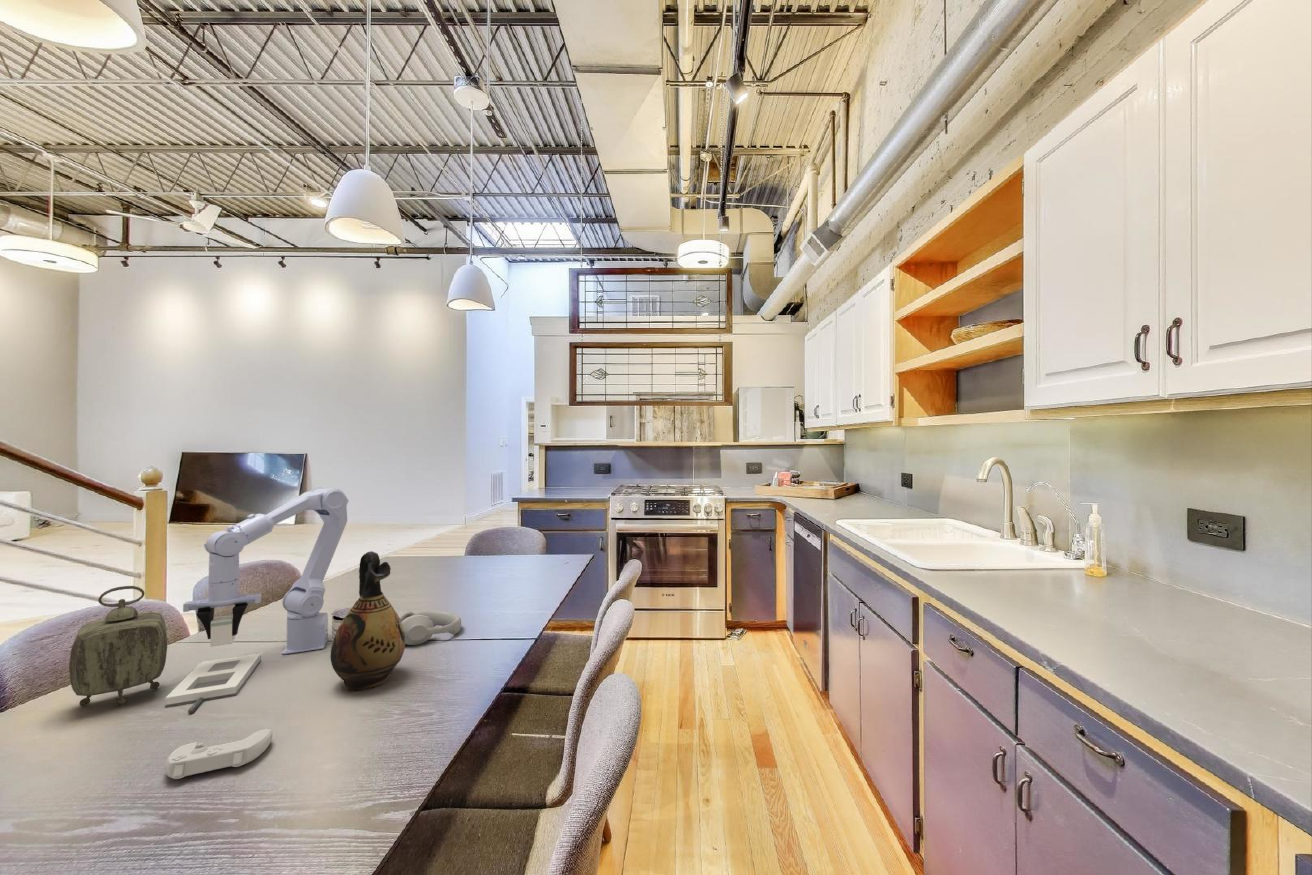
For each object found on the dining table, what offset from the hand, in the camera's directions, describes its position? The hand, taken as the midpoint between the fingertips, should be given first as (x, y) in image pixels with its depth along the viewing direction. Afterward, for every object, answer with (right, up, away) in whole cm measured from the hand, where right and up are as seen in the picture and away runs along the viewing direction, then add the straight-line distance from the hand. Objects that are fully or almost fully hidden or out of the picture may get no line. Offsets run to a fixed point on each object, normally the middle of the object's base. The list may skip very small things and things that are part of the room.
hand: (222, 636), depth 125 cm
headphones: (+39, -10, +25) cm, 47 cm away
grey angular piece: (+27, -9, +11) cm, 30 cm away
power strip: (+4, -9, -8) cm, 13 cm away
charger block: (0, -2, 0) cm, 2 cm away
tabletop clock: (-10, -9, -14) cm, 20 cm away
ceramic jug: (+38, -9, -4) cm, 39 cm away
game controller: (+30, -9, -36) cm, 47 cm away
